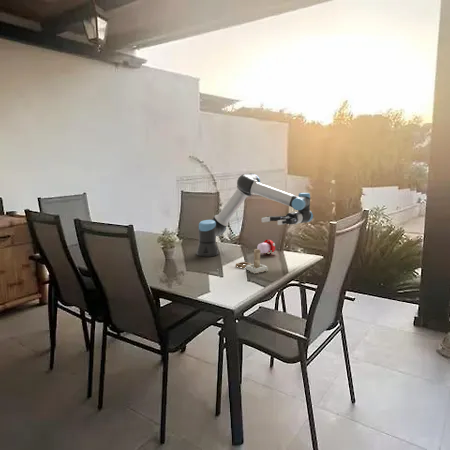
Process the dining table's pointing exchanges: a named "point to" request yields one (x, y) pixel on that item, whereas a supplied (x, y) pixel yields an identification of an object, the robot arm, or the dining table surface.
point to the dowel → (256, 258)
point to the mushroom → (266, 246)
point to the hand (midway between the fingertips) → (269, 221)
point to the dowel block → (242, 264)
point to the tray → (251, 267)
